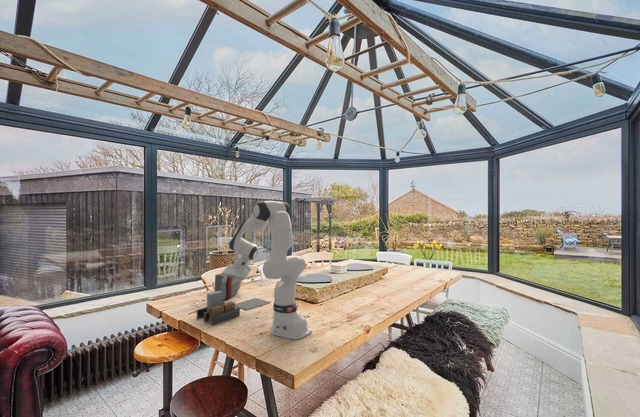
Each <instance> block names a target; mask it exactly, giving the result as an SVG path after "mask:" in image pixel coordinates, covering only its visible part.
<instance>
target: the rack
mask: <svg viewBox="0 0 640 417" xmlns="http://www.w3.org/2000/svg"><path fill="white" fill-rule="evenodd" d="M224 303H225V302H223V304H224ZM238 317H241V308H239V307H235V308H234V309H231V310H228V311H225V312H222V313H219V314H215V315H212V323H211V325H212V326H215V325H218V324H221V323H224V322H227V321H230V320H233V319H235V318H238ZM202 318H203V322H205V323H207V322H209V311H208V312H207V306H206V307H202V308H201V307H200V308H199V309H196V319H202Z"/></svg>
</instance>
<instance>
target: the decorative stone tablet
mask: <svg viewBox="0 0 640 417" xmlns="http://www.w3.org/2000/svg"><path fill="white" fill-rule="evenodd" d="M224 276H225V275H224V274H223V272H221V273H218V274H217V273H216V274H215V275H214V277H215V278H214V290H213V292H216V291H222V292H223V301H228V300H230V299H231V298H232V297H234V296H236V295H237V294H238V292H239V291H240V289H241V286H242V285H241V284H242V280H239V281H238V282H236V283H235V285H233V284H232V281H234V280H235V279H236V278H232V277H228V278H227V281H226V282H223V279H224Z"/></svg>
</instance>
